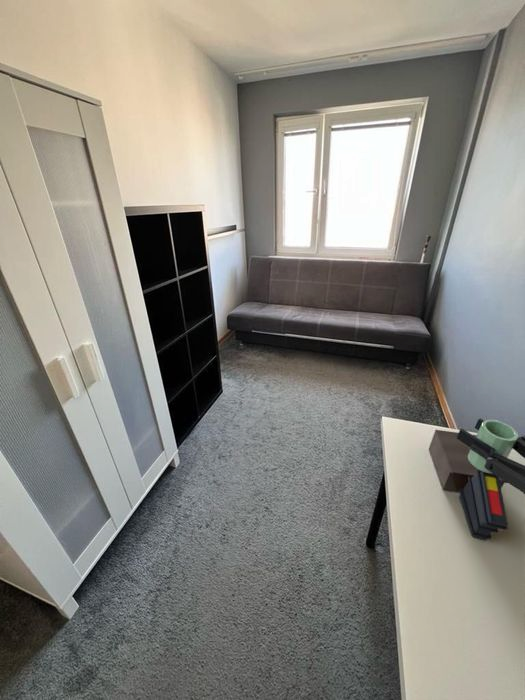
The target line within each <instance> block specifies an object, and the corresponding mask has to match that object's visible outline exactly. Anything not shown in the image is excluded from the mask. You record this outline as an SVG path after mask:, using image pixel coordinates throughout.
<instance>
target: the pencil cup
mask: <svg viewBox="0 0 525 700" xmlns="http://www.w3.org/2000/svg"><path fill="white" fill-rule="evenodd" d="M476 435H477V436H476V437H477V438H478V439H480V440H481V441H483V442H485V443H486V444H488V445H489V446H491V447H492V448H494V449H496V450H495V453H498V454H500V455H502V456H504V457H506V458H508V457H509V456H510V454H511V452H512V451H513V446H514V445H515V443H516V441H517V439H518V437H519V433H518V432H517V430H516V429H515V428H513V427H512V426H511V425H509V424H507V423H505V422H503V421H499V420H496V419H485V420H484V422H482V424H481V427H480V429H479V430H477V433H476ZM468 460H469V461H470V463H471V464H472V465H473V466H474V467H476V468H477V469H479V470H481V471H483V472H486V473H492V472H490V471H489V470H487V469H486V468H485V467H484V466H485V463H486V460H485V459H484V458H483V457H481V456H480V455H478V454H477V453H475V452H474V451H472V450H471V449H470V451H469V454H468ZM496 460H497V459H496ZM497 461H498V460H497Z"/></svg>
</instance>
